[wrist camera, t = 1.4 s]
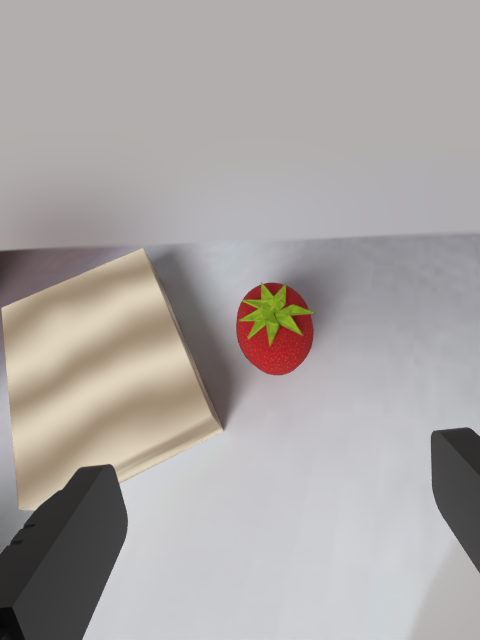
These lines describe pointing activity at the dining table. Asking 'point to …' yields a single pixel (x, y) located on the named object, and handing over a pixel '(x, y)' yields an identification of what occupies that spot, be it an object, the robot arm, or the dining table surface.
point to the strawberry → (274, 328)
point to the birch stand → (100, 379)
